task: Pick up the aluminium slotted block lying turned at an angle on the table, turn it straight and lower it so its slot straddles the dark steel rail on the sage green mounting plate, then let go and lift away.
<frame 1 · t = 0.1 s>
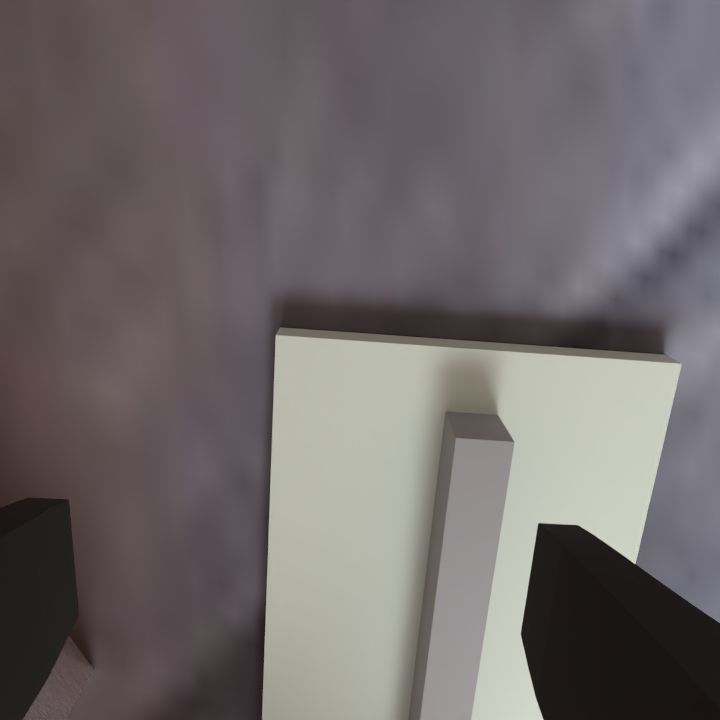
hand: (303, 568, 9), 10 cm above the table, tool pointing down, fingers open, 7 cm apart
rail plate: (438, 613, 21), on the table
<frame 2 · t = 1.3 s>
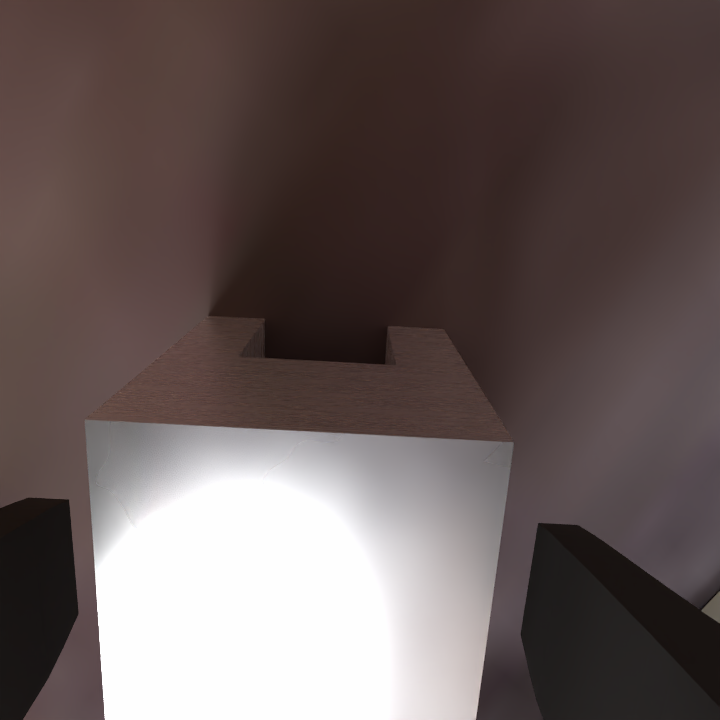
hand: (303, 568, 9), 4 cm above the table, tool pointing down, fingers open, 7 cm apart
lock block: (320, 452, 14), on the table
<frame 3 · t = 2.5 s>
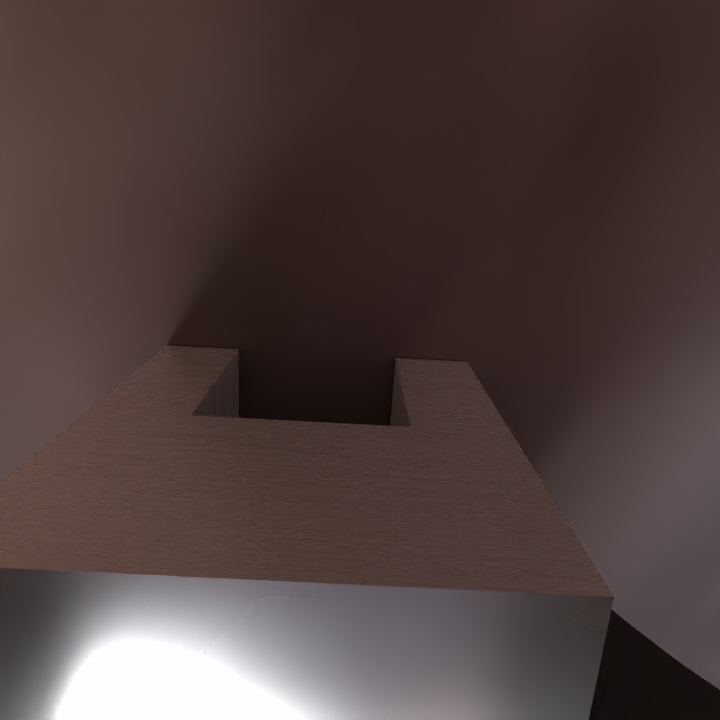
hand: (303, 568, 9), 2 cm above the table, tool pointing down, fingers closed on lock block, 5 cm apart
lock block: (310, 514, 11), on the table, touching gripper
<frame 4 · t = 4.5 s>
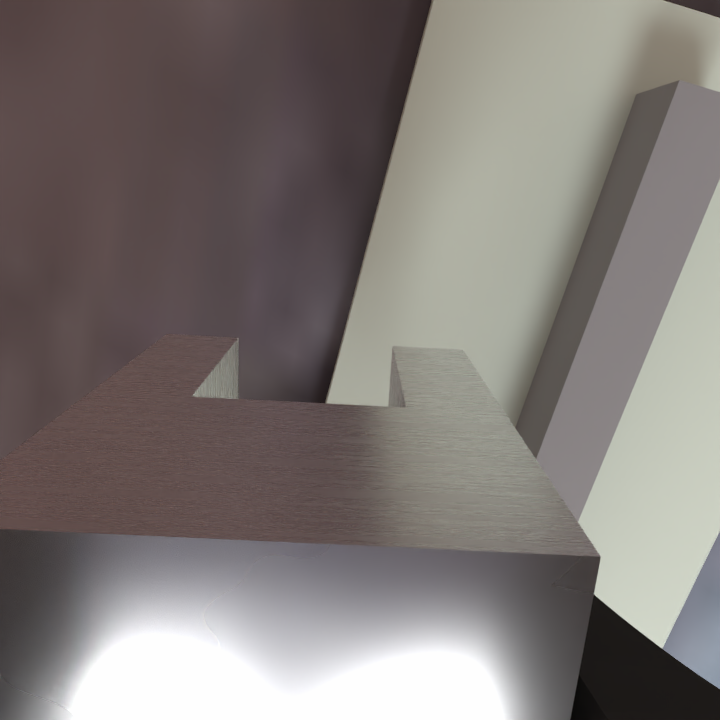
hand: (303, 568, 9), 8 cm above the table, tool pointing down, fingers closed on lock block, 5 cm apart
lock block: (309, 501, 11), point 7 cm above the table, touching gripper
rail plate: (541, 396, 17), on the table
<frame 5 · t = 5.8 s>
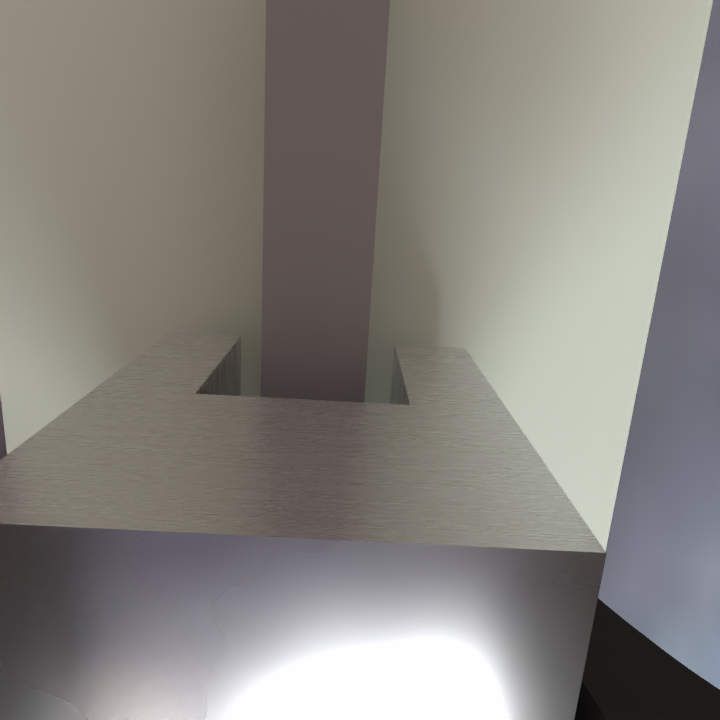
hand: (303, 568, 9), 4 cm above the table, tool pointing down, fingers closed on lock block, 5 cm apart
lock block: (311, 499, 11), point 2 cm above the table, touching gripper
rail plate: (320, 418, 13), on the table
when the fingers open (4 cm above the table, at t = 6.7 s): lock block stays where it is, resting on rail plate.
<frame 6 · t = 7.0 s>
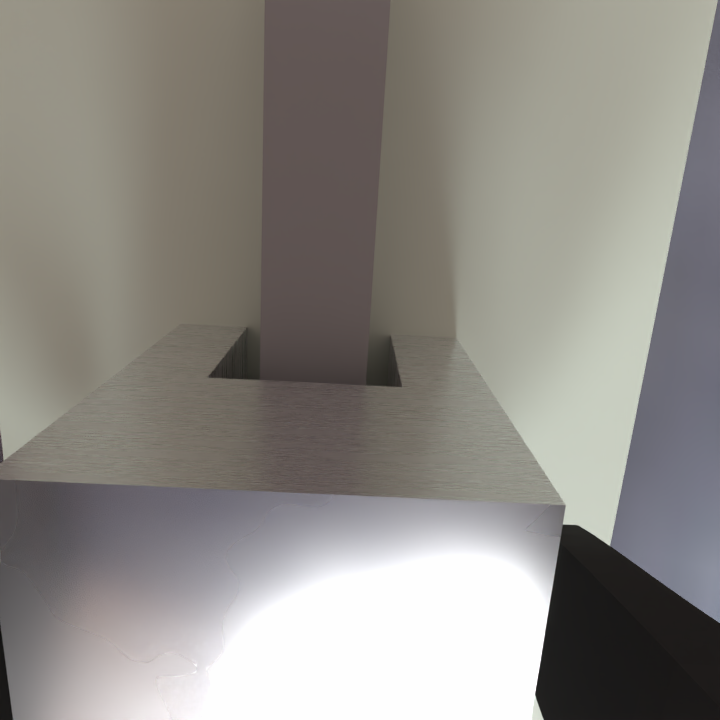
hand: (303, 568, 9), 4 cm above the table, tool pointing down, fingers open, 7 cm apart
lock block: (313, 480, 12), point 1 cm above the table, touching rail plate
rail plate: (319, 420, 12), on the table
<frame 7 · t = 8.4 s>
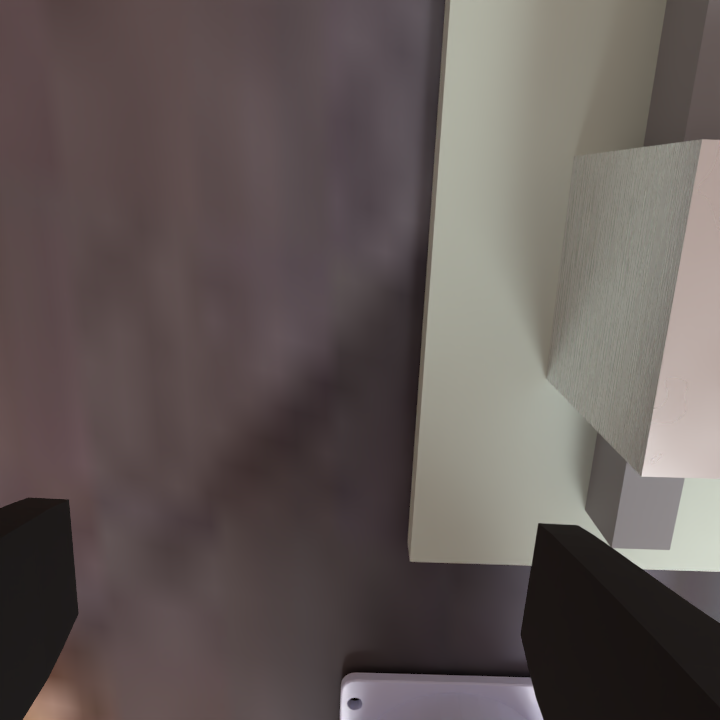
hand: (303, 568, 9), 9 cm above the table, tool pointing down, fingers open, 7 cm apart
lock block: (650, 276, 16), point 1 cm above the table, touching rail plate
rail plate: (640, 241, 17), on the table
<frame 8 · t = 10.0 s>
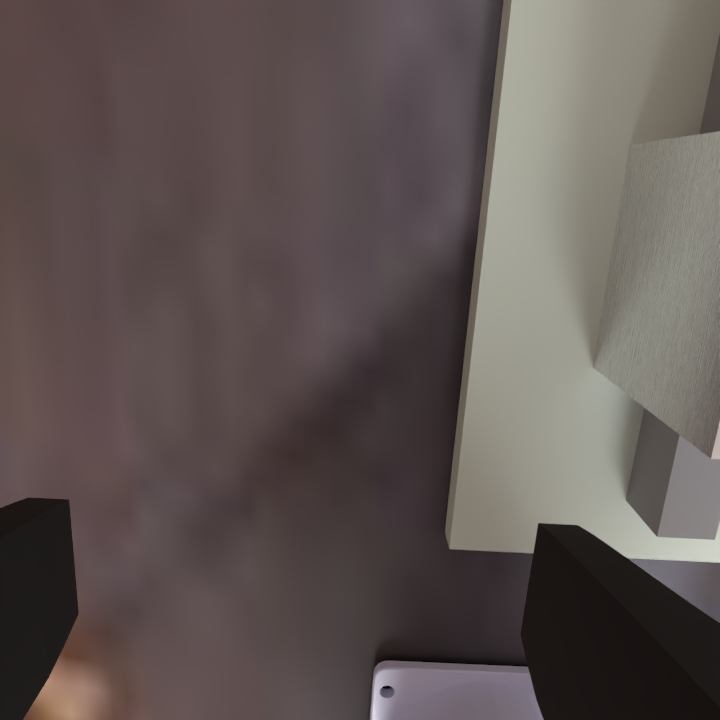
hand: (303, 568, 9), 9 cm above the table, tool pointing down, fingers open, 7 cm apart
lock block: (701, 266, 16), point 1 cm above the table, touching rail plate
rail plate: (689, 232, 17), on the table
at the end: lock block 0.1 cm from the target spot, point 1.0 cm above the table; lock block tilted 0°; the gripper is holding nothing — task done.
